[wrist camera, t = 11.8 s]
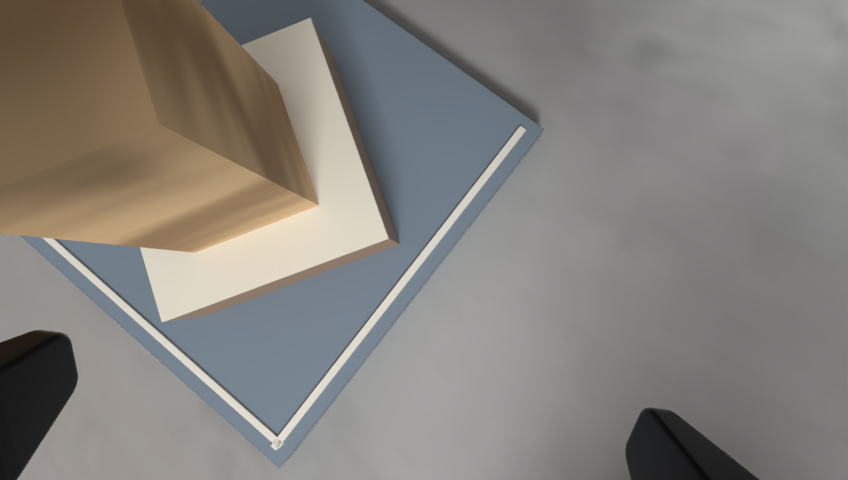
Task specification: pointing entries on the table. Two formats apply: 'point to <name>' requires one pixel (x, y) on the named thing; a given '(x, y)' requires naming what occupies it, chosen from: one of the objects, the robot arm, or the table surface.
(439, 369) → the table surface
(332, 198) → the board
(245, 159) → the oak post
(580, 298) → the table surface
